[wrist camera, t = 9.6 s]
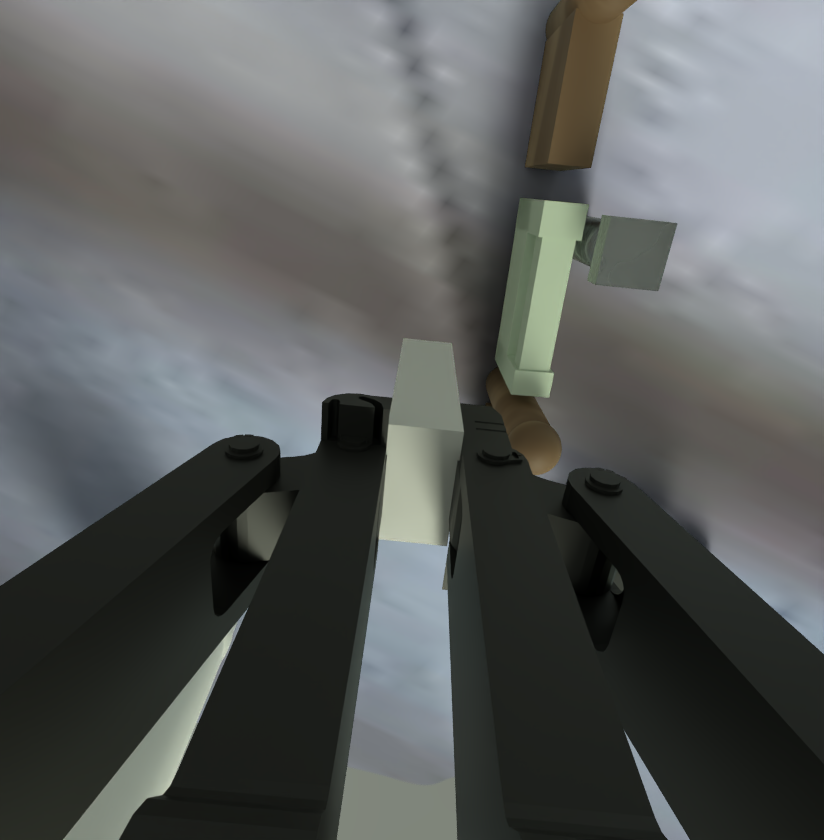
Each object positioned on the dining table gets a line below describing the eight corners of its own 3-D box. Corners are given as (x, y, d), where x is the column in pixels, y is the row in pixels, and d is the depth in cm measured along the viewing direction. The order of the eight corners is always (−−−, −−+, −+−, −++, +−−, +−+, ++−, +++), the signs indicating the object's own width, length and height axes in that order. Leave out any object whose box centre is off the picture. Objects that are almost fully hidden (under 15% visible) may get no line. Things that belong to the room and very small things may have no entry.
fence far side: (594, 3, 24) (661, -65, 17) (562, 171, 26) (609, 166, 20) (550, -2, 23) (600, -72, 17) (522, 167, 26) (557, 160, 20)
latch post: (597, 212, 27) (677, 223, 19) (587, 260, 28) (658, 291, 20) (551, 207, 27) (611, 216, 19) (542, 255, 28) (595, 284, 20)
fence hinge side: (528, 365, 30) (573, 437, 22) (511, 453, 33) (546, 549, 24) (487, 362, 30) (516, 432, 22) (473, 449, 33) (494, 545, 24)
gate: (526, 361, 30) (549, 397, 25) (494, 359, 30) (510, 394, 25) (555, 201, 26) (588, 204, 21) (520, 197, 26) (544, 200, 21)
